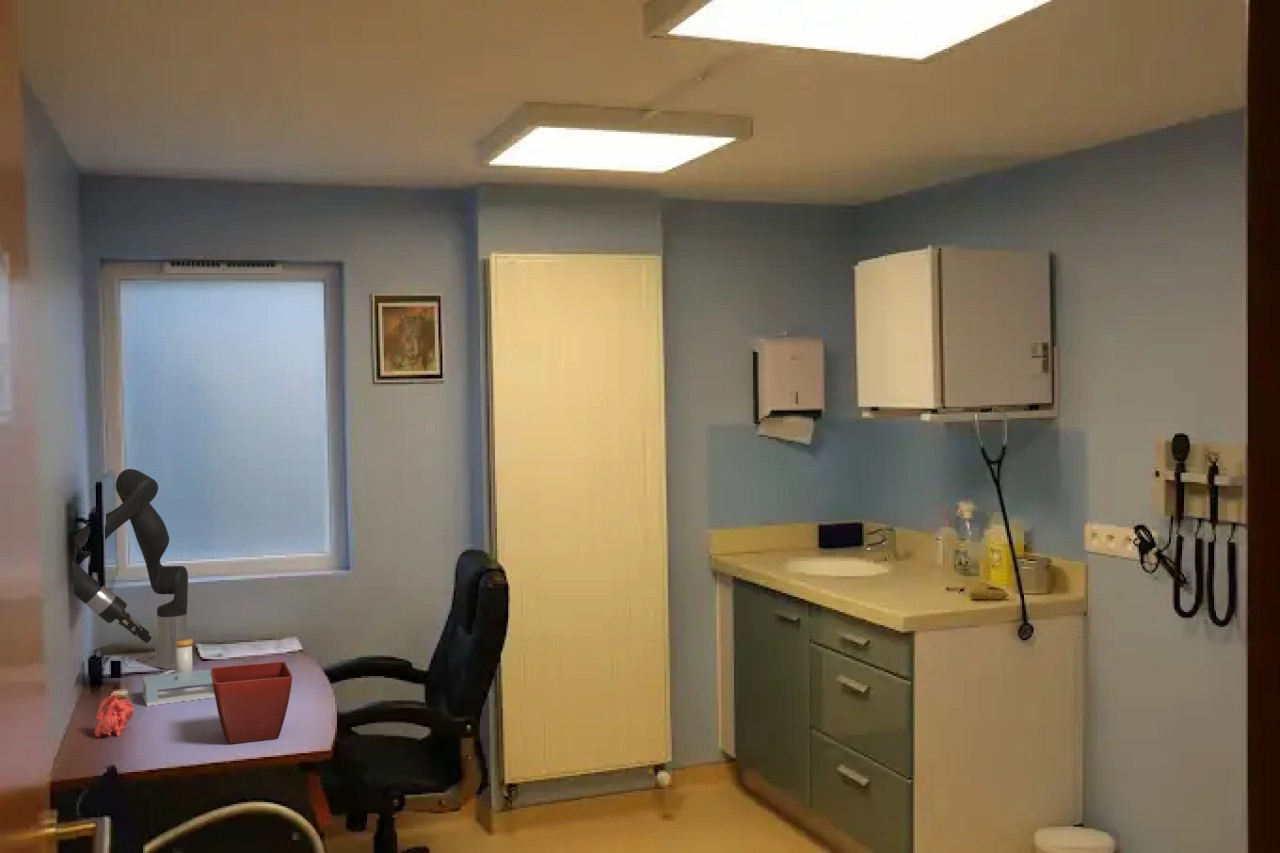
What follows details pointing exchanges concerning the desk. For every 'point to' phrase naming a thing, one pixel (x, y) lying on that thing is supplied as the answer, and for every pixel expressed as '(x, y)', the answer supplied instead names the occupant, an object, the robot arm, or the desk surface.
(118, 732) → the anatomical heart
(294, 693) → the desk surface
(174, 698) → the grey hollow block
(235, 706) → the plant pot
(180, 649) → the orange ball-topped peg
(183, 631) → the robot arm
